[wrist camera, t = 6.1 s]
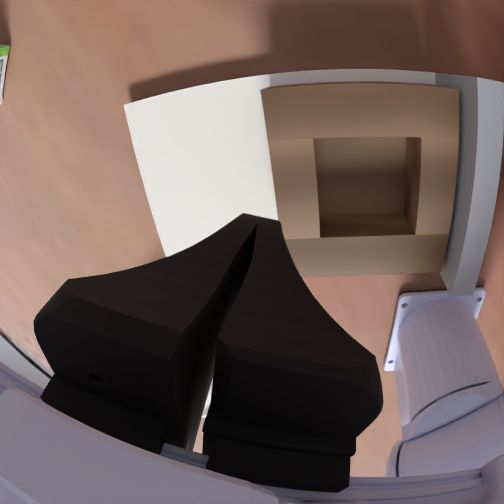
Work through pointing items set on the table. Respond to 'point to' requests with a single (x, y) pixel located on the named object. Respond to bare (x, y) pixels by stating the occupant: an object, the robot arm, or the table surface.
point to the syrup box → (3, 66)
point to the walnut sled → (363, 174)
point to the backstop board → (259, 165)
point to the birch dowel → (503, 160)
